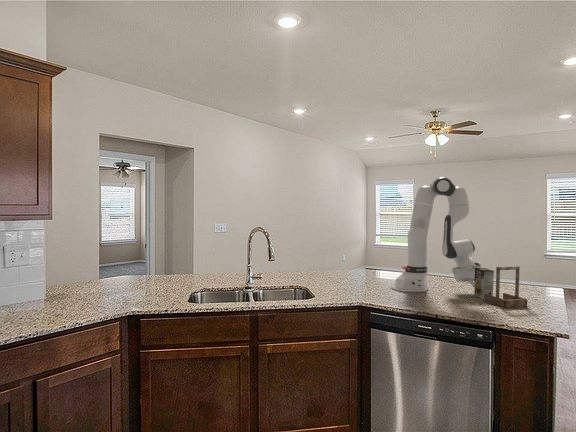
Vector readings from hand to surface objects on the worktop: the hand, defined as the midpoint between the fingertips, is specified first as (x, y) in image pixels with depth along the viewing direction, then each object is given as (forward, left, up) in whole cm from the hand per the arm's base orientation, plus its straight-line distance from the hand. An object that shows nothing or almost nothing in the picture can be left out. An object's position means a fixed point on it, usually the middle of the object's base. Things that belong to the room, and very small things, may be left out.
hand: (476, 286), depth 237 cm
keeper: (0, -21, -5) cm, 22 cm away
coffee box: (0, -6, -5) cm, 8 cm away
